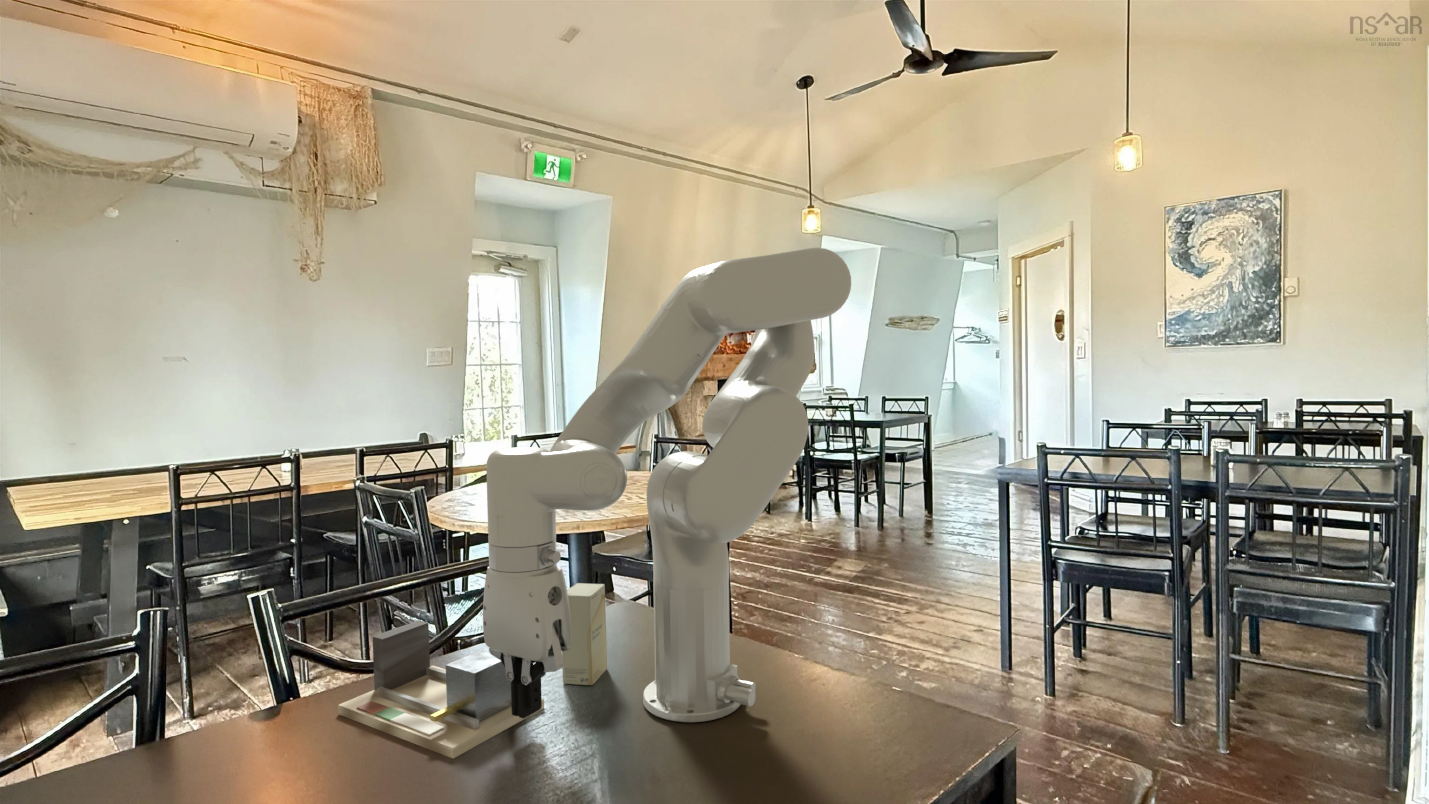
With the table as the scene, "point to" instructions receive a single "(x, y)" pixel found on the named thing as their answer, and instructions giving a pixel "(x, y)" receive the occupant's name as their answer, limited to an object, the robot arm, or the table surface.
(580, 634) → the skincare box
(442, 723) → the gauge board
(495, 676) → the block
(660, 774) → the table surface
